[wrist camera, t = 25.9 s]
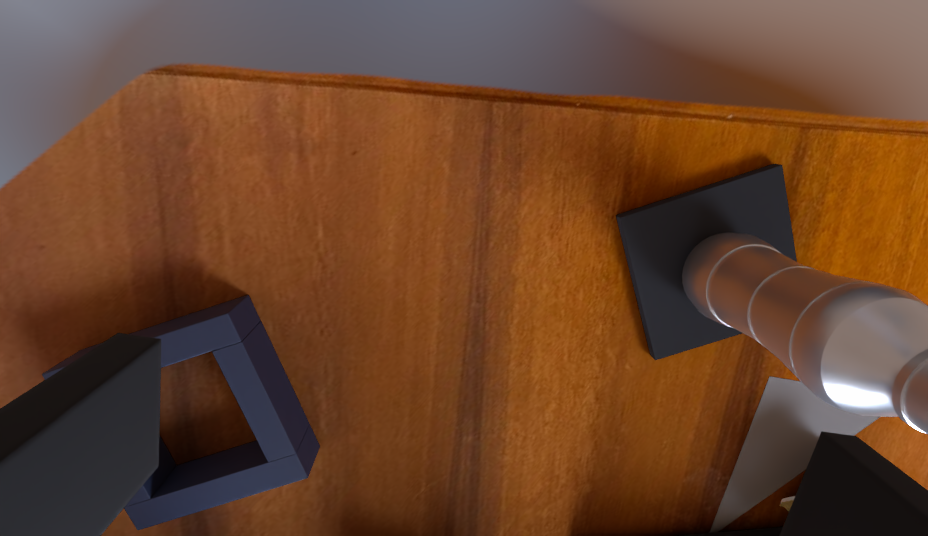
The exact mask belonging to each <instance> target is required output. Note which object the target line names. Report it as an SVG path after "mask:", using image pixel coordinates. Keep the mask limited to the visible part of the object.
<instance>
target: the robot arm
mask: <svg viewBox="0 0 928 536" xmlns="http://www.w3.org/2000/svg"><path fill="white" fill-rule="evenodd" d="M160 381H161V339H158V338H151V337H143V336H136V335H129V334H122V333H118V334H116V335H114V336H113V337H111V338H110V339H108V340H107V341H105V342H104V343H102V344H100V345H99V346H97V347H96V348H94V349H93V350H91V351H89V352H88V353H86V354H85V355H83V356H82V357H80V358H79V359H77V360H75V361H74V362H72V363H71V364H69V365H68V366H66V367H65V368H63V369H61V370H60V371H58V372H57V373H55V374H54V375H52V376H51V377H49V378H47V379H46V380H44V381H43V382H41V383H40V384H38V385H37V386H35V387H33V388H32V389H30V390H29V391H27V392H26V393H24V394H22V395H21V396H19V397H18V398H16V399H15V400H13V401H12V402H10V403H8V404H7V405H5V406H4V407H2V408H1V409H0V536H101V535H102V533H103V532H104V531H105V530H106V529H107V527H108V526H109V525H110V524H111V523H112V521H113V520H114V519H115V518H116V517H117V515H118V514H119V513H120V512H121V511H122V509H123V508H124V507H125V506H126V505H127V503H128V502H129V501H130V500H131V499H132V497H133V496H134V495H135V494H136V493H137V492H138V490H139V489H140V488H141V487H142V486H143V484H144V483H145V482H146V481H147V480H148V478H149V477H150V476H151V475H152V474H153V472H154V471H155V470H156V469H157V468H158V466H159V429H160ZM779 536H928V490H926V489H925V488H924V487H922V486H921V485H920V484H918V483H917V482H916V481H914V480H913V479H912V478H910V477H909V476H908V475H907V474H905V473H904V472H903V471H901V470H900V469H899V468H897V467H896V466H895V465H893V464H892V463H891V462H889V461H888V460H887V459H885V458H884V457H883V456H882V455H880V454H879V453H878V452H876V451H875V450H874V449H872V448H871V447H870V446H868V445H867V444H866V443H864V442H863V441H862V440H860V439H859V438H858V437H857V436H851V435H844V434H837V433H830V432H823V431H821V434H820V436H819V439H818V441H817V444H816V446H815V449H814V451H813V454H812V456H811V459H810V461H809V464H808V466H807V469H806V471H805V474H804V476H803V478H802V481H801V483H800V486H799V488H798V491H797V493H796V496H795V498H794V501H793V503H792V506H791V508H790V511H789V513H788V516H787V518H786V521H785V523H784V525H783V528H782V530H781V533H780V535H779Z"/></svg>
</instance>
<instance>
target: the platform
mask: <svg viewBox="0 0 928 536" xmlns="http://www.w3.org/2000/svg"><path fill="white" fill-rule="evenodd" d="M879 417H881V416H862V415H858V414H854V413H851V412H848V411H845V410H842V409H838V408H836V407H834V406H831V405H829V404H827V403H825V402H824V401H823V400H821V399H820V398H819V397H818V396H816V395H815V394H814V393H813V392H812V391H811V390H809V389H808V388H807V387H806V386H805V385H804V384H803V383H802V382H800V381H794V380H788V379H782V378H776V377H769V380H768V382H767V385H766V387H765V390H764V393H763V395H762V398H761V400H760V403H759V406H758V408H757V411H756V413H755V416H754V419H753V421H752V424H751V426H750V429H749V431H748V434H747V437H746V439H745V442H744V444H743V447H742V450H741V452H740V455H739V457H738V460H737V463H736V465H735V468H734V470H733V473H732V476H731V478H730V481H729V483H728V486H727V488H726V491H725V494H724V496H723V499H722V501H721V504H720V507H719V509H718V512H717V514H716V517H715V520H714V522H713V525H712V527H711V530H710V532H709V533H717V532H718V531H720V530H721V529H723V528H724V527H725V526H727V525H728V524H730V523H731V522H732V521H734V520H735V519H737V518H738V517H739V516H741V515H742V514H744V513H745V512H747V511H748V510H749V509H751V508H752V507H754V506H755V505H756V504H758V503H759V502H761V501H762V500H764V499H765V498H766V497H768V496H769V495H771V494H772V493H773V492H775V491H776V490H778V489H779V488H780V487H782V486H783V485H785V484H786V483H788V482H789V481H790V480H792V479H793V478H795V477H796V476H797V475H799V474H800V473H802V472H803V471H805V470H806V469H807V466H808V464H809V461H810V459H811V456H812V454H813V451H814V449H815V446H816V444H817V441H818V439H819V436H820V434H821V431H823V432H830V433H837V434H844V435H851V436H854V435H855V434H857V433H858V432H860V431H861V430H862V429H864V428H865V427H867V426H868V425H869V424H871V423H872V422H874V421H875V420H877V419H878V418H879ZM794 498H795V496H792V497H788V498H783V499H782V500H781V503H780V504H781V505H780V506H781V507H785V508H786V509H787V510H788V511H789V510H790V508H791V506H792V503H793V501H794Z"/></svg>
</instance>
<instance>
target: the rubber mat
mask: <svg viewBox="0 0 928 536" xmlns="http://www.w3.org/2000/svg"><path fill="white" fill-rule="evenodd" d="M616 218H617V222H618V226H619V230H620V234H621V238H622V242H623V246H624V250H625V254H626V258H627V262H628V266H629V270H630V274H631V278H632V282H633V287H634V291H635V295H636V299H637V303H638V307H639V311H640V315H641V319H642V323H643V327H644V331H645V335H646V339H647V343H648V347H649V351H650V355H651V356H652V357H653V358H654V359H655V360H657V359H661V358H664V357H667V356H670V355H674V354H677V353H680V352H683V351H687V350H690V349H693V348H696V347H699V346H703V345H706V344H709V343H712V342H716V341H719V340H722V339H725V338H729V337H732V336H735V335H738V334H741V333H742V332H740V331H738V330H736V329H735V328H732V327H729V326H725V325H722V324H720V323H718V322H716V321H714V320H712V319H710V318H707V317H706V316H704V315H703V314H702V313H700V312H699V311H698V310H697V308H696V307H695V306H694V305H693V303H692V302H691V301H690V300H689V298H688V297H687V295H686V293H685V291H684V287H683V283H682V273H683V267H684V264H685V261H686V259H687V257H688V256H689V254H690V252H691V251H692V250H693V249H694V248H695V246H696V245H698V244H699V243H700V242H701V241H703V240H704V239H706V238H708V237H710V236H713V235H716V234H719V233H742V234H749V235H753V236H756V237H758V238H759V239H761V240H763V241H765V242H766V243H768V244H770V245H771V246H773V247H774V248H775V249H776V250H778V251H779V252H780V253H781V254H783V255H785V256H787V257H788V258H790V259H792V260H794V261H796V262H797V260H796V254H795V247H794V240H793V234H792V227H791V221H790V214H789V208H788V201H787V194H786V188H785V181H784V175H783V168H782V165H778V164H772V165H769V166H766V167H763V168H759V169H756V170H753V171H750V172H747V173H744V174H741V175H738V176H735V177H732V178H729V179H726V180H723V181H720V182H716V183H713V184H710V185H707V186H704V187H701V188H698V189H695V190H692V191H689V192H686V193H683V194H680V195H677V196H674V197H670V198H667V199H664V200H661V201H658V202H655V203H652V204H649V205H646V206H643V207H640V208H637V209H634V210H631V211H627V212H624V213H621V214H618V215H616Z"/></svg>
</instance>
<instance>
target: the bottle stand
mask: <svg viewBox="0 0 928 536" xmlns="http://www.w3.org/2000/svg"><path fill="white" fill-rule="evenodd" d="M129 335H136V336H143V337H151V338H158V339H161V367H165V366H168V365H171V364H174V363H177V362H180V361H183V360H186V359H189V358H192V357H195V356H198V355H201V354H205V353H208V352H211V351H212V353H213V355H214V357H215V359H216V361H217V363H218V364H219V366H220V368H221V370H222V372H223V374H224V376H225V378H226V380H227V382H228V384H229V386H230V388H231V390H232V392H233V394H234V396H235V398H236V400H237V402H238V404H239V406H240V408H241V410H242V412H243V414H244V416H245V418H246V420H247V422H248V424H249V426H250V427H251V429H252V431H253V433H254V435H255V437H256V439H257V441H254V442H251V443H247V444H244V445H241V446H238V447H235V448H231V449H228V450H225V451H222V452H219V453H216V454H212V455H209V456H206V457H203V458H200V459H196V460H193V461H190V462H187V463H184V464H181V465H177V466H176V463H175V462H174V460H173V458H172V456H171V455H170V453H169V451H168V449H167V448H166V446H165V444H164V442H163V440H162V439H161V437H160V435H159V466H158V468H157V469H156V470H155V471H154V472H153V474H152V475H151V476H150V477H149V478H148V480H147V481H146V482H145V483H144V484H143V486H142V487H141V488H140V489H139V490H138V492H137V493H136V494H135V495H134V496H133V497H132V499H131V500H130V501H129V502H128V503H127V505H126V506H125V507H124V509H125V511H126V512H127V514H128V515H129V517H130V519H131V520H132V522H133V524H134V525H135V527H136V528H137V530H141V529H144V528H147V527H150V526H154V525H157V524H160V523H163V522H167V521H170V520H173V519H176V518H180V517H183V516H186V515H189V514H192V513H196V512H199V511H202V510H205V509H209V508H212V507H215V506H218V505H222V504H225V503H228V502H231V501H235V500H238V499H241V498H244V497H248V496H251V495H254V494H257V493H261V492H264V491H267V490H270V489H273V488H277V487H280V486H283V485H286V484H290V483H293V482H296V481H299V480H303V479H306V478H308V476H309V474H310V471H311V468H312V466H313V463H314V461H315V458H316V455H317V453H318V450H319V448H320V445H319V443H318V441H317V439H316V437H315V434H314V432H313V430H312V428H311V426H310V424H309V422H308V420H307V418H306V415H305V413H304V411H303V409H302V407H301V405H300V403H299V400H298V398H297V396H296V394H295V392H294V390H293V388H292V386H291V383H290V381H289V379H288V377H287V375H286V373H285V371H284V369H283V366H282V364H281V362H280V360H279V358H278V356H277V354H276V352H275V349H274V347H273V345H272V343H271V341H270V339H269V337H268V335H267V332H266V330H265V328H264V326H263V324H262V322H261V321H260V318H259V316H258V314H257V312H256V310H255V307H254V305H253V303H252V301H251V299H250V297H249V295H246V296H243V297H240V298H237V299H234V300H231V301H228V302H225V303H222V304H219V305H216V306H213V307H210V308H207V309H204V310H201V311H198V312H195V313H191V314H188V315H185V316H182V317H179V318H176V319H173V320H170V321H167V322H164V323H161V324H158V325H155V326H152V327H149V328H146V329H143V330H140V331H137V332H134V333H131V334H129ZM101 344H102V343H101ZM99 345H100V344H98V345H95V346H91V347H88V348H85V349H82V350H80V351H78V352H77V353H75V354H73V355H72V356H70V357H69V358H67V359H65V360H64V361H62V362H60V363H59V364H57V365H56V366H54V367H52V368H51V369H49V370H48V371H46V372H44V373H43V374H42V376H43V377H44V379H45V380H46V379H47V378H49V377H51V376H52V375H54V374H55V373H57V372H58V371H60V370H61V369H63V368H65V367H66V366H68V365H69V364H71V363H72V362H74V361H75V360H77V359H79V358H80V357H82V356H83V355H85V354H86V353H88V352H89V351H91V350H93V349H94V348H96V347H97V346H99Z"/></svg>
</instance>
